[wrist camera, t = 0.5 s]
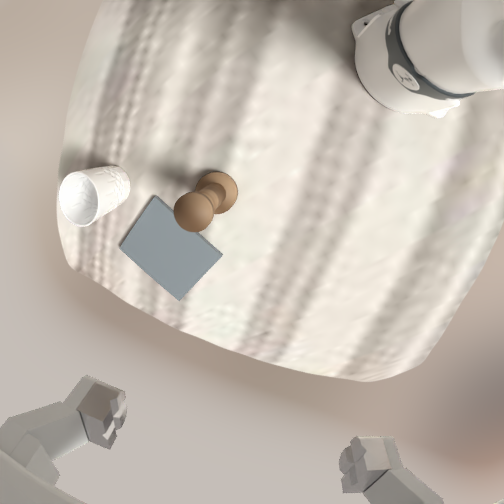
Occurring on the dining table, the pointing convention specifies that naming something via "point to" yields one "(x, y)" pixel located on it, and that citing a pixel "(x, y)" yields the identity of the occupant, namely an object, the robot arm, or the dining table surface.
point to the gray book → (169, 250)
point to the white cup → (92, 193)
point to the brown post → (205, 201)
